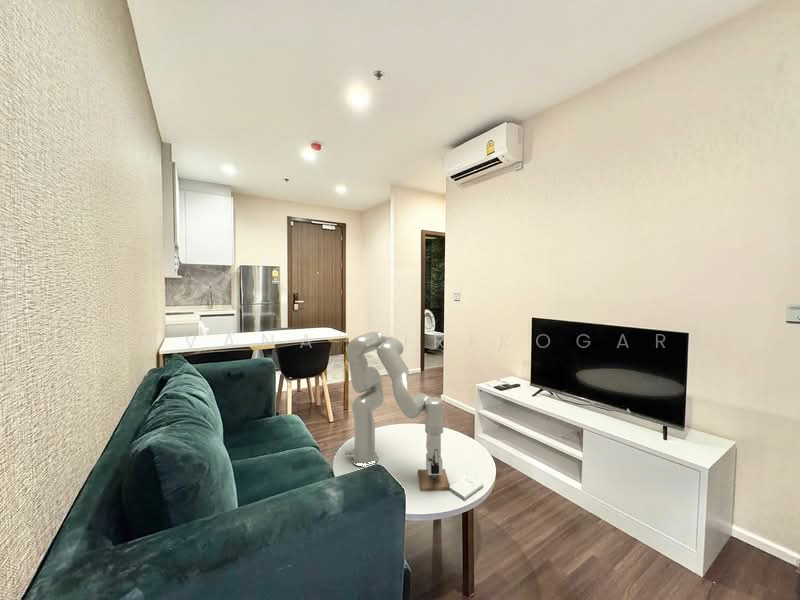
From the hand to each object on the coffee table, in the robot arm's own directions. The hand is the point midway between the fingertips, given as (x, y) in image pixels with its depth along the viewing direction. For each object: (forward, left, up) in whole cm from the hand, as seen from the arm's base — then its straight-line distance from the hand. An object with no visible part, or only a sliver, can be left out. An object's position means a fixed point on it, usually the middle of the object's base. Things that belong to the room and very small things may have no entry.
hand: (433, 468), depth 138 cm
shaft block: (0, 0, -6) cm, 6 cm away
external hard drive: (+13, -5, -6) cm, 15 cm away
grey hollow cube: (0, 0, -1) cm, 1 cm away
